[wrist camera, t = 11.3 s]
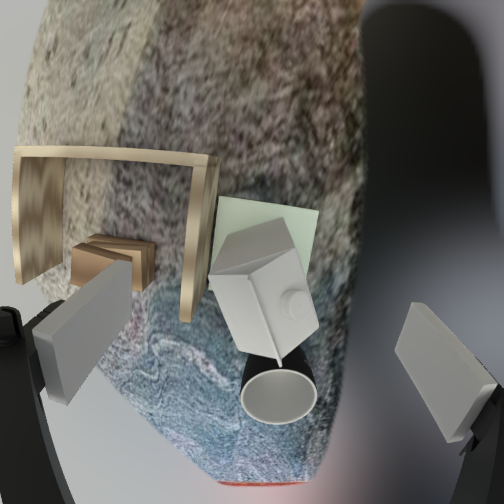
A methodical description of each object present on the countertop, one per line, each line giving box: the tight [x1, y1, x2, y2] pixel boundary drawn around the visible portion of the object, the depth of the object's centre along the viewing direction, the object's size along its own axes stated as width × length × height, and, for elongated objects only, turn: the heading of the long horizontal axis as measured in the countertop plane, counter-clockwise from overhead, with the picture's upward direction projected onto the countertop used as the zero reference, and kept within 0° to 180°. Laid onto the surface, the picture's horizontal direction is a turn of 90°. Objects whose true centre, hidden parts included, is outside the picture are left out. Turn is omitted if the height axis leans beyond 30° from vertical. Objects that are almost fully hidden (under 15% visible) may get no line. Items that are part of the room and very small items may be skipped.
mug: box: [240, 345, 317, 425], centre depth 39 cm, size 12×9×10 cm
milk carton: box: [208, 217, 319, 367], centre depth 31 cm, size 7×7×19 cm
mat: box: [208, 196, 319, 290], centre depth 40 cm, size 12×12×1 cm
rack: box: [12, 146, 222, 323], centre depth 35 cm, size 17×23×10 cm
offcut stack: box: [71, 234, 156, 292], centre depth 37 cm, size 6×9×8 cm, turn 82°
